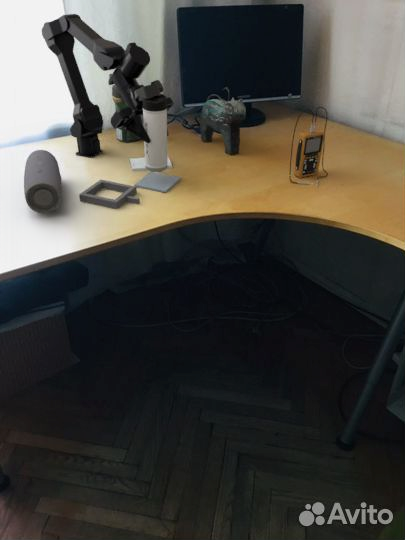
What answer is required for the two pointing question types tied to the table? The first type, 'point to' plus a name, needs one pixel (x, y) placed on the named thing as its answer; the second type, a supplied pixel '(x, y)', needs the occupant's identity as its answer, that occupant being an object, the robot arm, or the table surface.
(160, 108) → the travel mug
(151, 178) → the mat
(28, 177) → the bluetooth speaker
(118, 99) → the coffee jar
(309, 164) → the multimeter
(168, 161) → the hard drive
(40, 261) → the table surface
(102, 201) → the collar
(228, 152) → the animal figurine
